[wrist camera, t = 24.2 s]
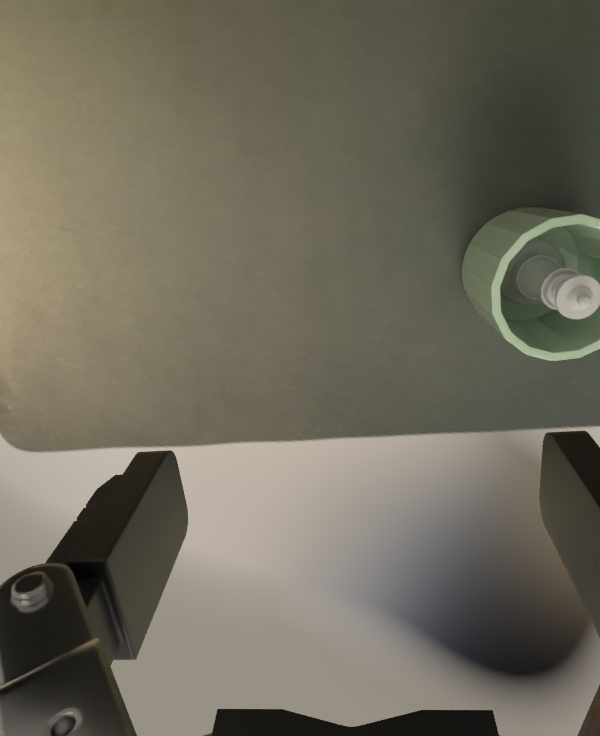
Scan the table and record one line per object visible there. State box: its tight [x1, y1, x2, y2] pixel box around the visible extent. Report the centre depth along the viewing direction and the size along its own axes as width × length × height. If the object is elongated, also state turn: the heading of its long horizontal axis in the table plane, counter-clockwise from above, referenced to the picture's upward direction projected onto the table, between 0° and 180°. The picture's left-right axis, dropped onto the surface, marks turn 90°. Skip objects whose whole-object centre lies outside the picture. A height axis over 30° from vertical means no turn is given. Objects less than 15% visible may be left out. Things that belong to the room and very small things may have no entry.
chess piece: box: [500, 238, 600, 319], centre depth 33 cm, size 4×4×10 cm
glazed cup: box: [462, 207, 600, 361], centre depth 35 cm, size 8×8×8 cm
